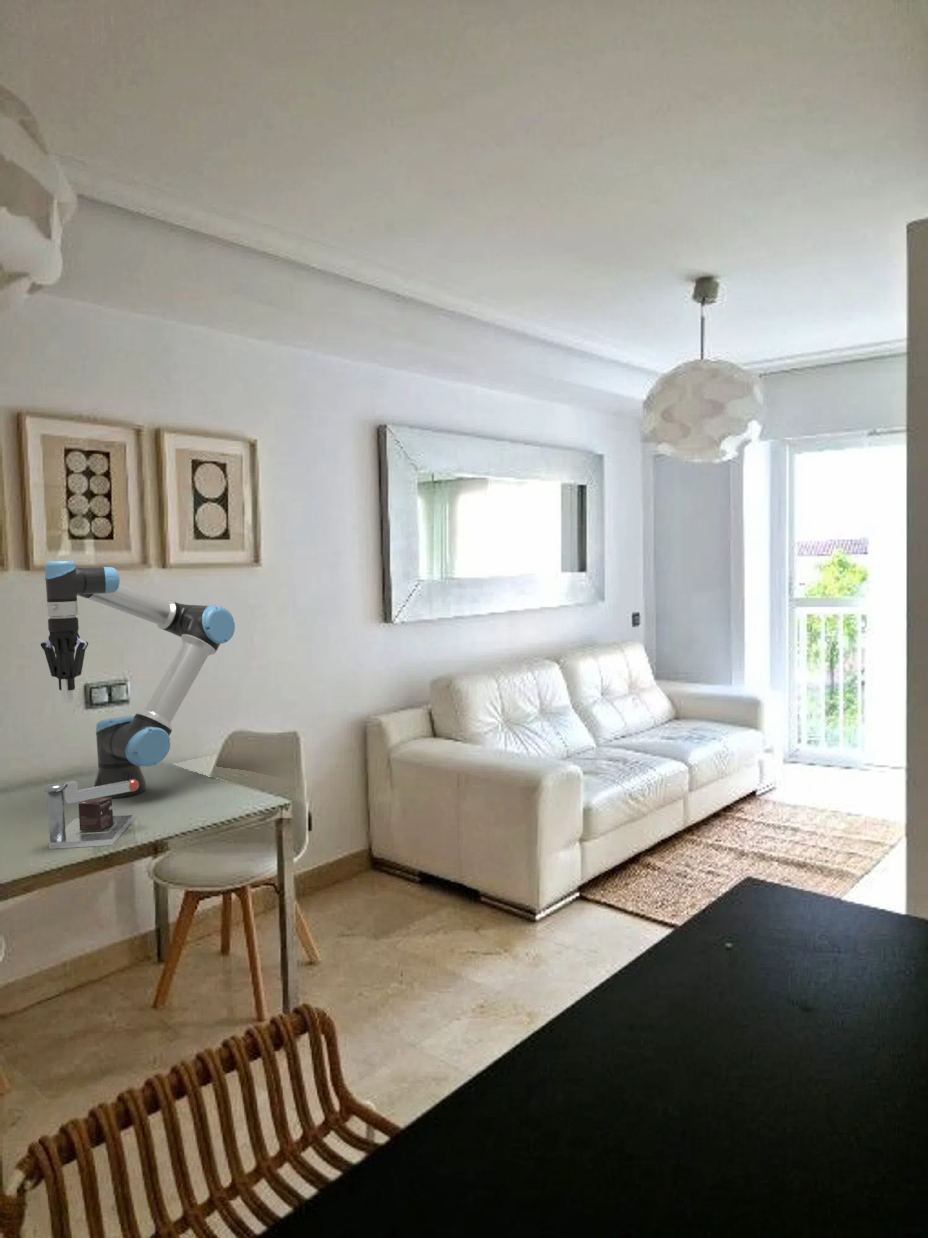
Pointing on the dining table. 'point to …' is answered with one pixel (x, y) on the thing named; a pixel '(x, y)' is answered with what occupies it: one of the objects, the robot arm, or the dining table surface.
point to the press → (72, 832)
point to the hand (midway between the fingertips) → (67, 702)
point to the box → (95, 814)
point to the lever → (91, 790)
